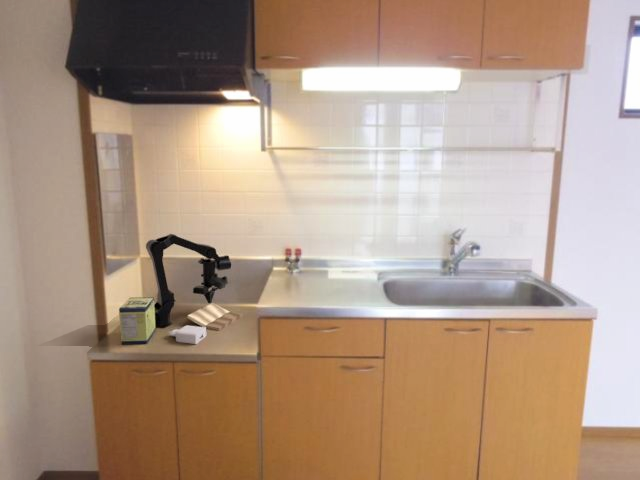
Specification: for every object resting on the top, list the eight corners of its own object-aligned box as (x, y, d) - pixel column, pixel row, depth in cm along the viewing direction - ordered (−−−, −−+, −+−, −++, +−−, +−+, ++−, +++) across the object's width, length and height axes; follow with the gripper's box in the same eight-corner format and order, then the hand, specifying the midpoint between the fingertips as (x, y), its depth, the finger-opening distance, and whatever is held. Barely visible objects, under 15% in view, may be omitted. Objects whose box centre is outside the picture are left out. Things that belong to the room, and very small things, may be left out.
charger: (175, 333, 203) (206, 336, 199) (163, 341, 194) (195, 345, 191) (174, 323, 202) (206, 326, 199) (162, 330, 193) (195, 334, 190)
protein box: (156, 330, 206) (154, 296, 203) (147, 344, 191) (145, 308, 188) (131, 330, 204) (129, 297, 202) (120, 345, 189) (118, 308, 186)
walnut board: (219, 331, 206) (219, 327, 205) (206, 328, 208) (206, 325, 208) (242, 316, 224) (242, 313, 224) (229, 314, 226) (229, 311, 226)
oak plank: (204, 328, 208) (205, 325, 208) (187, 318, 211) (187, 315, 210) (228, 314, 227) (229, 311, 226) (211, 305, 229) (212, 302, 229)
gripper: (212, 278, 209) (213, 311, 212) (234, 269, 226) (234, 299, 229) (191, 275, 213) (192, 308, 216) (214, 266, 230) (215, 297, 233)
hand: (209, 303), depth 223 cm, fingers closed
